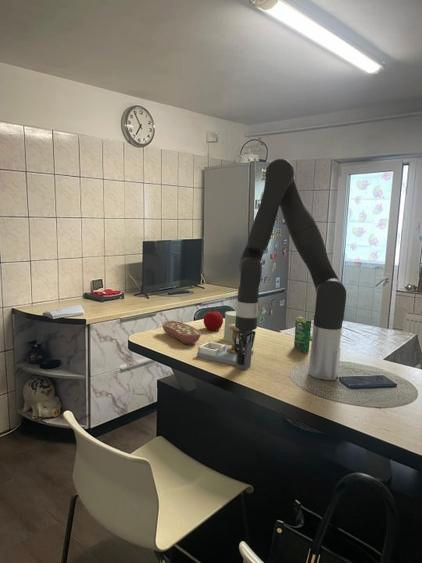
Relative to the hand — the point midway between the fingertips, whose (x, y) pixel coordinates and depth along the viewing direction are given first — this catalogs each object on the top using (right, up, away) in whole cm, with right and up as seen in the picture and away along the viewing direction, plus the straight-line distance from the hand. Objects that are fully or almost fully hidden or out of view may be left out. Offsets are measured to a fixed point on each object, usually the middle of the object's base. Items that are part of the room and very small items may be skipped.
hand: (243, 362), depth 144 cm
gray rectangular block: (0, -2, 0) cm, 2 cm away
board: (-6, 0, +12) cm, 13 cm away
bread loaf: (-24, +4, +30) cm, 39 cm away
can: (-1, +3, +33) cm, 33 cm away
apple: (-11, +6, +48) cm, 49 cm away
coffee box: (+25, 0, +24) cm, 35 cm away
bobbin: (-2, +2, +13) cm, 13 cm away
